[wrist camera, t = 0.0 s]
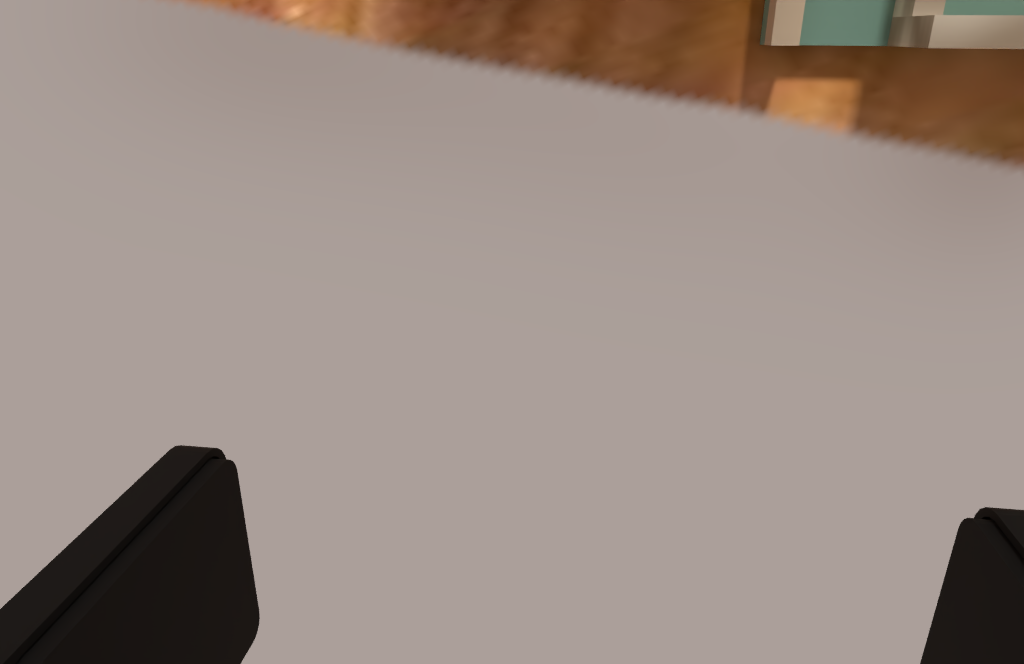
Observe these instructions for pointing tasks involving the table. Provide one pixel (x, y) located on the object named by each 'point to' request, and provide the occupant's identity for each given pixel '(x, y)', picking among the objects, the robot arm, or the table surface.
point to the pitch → (853, 20)
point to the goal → (952, 28)
